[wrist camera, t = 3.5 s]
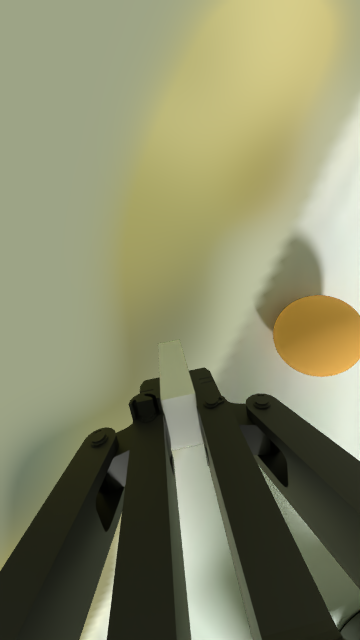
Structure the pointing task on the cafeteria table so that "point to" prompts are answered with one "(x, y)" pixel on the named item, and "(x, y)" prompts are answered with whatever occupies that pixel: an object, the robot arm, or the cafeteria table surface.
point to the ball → (318, 335)
